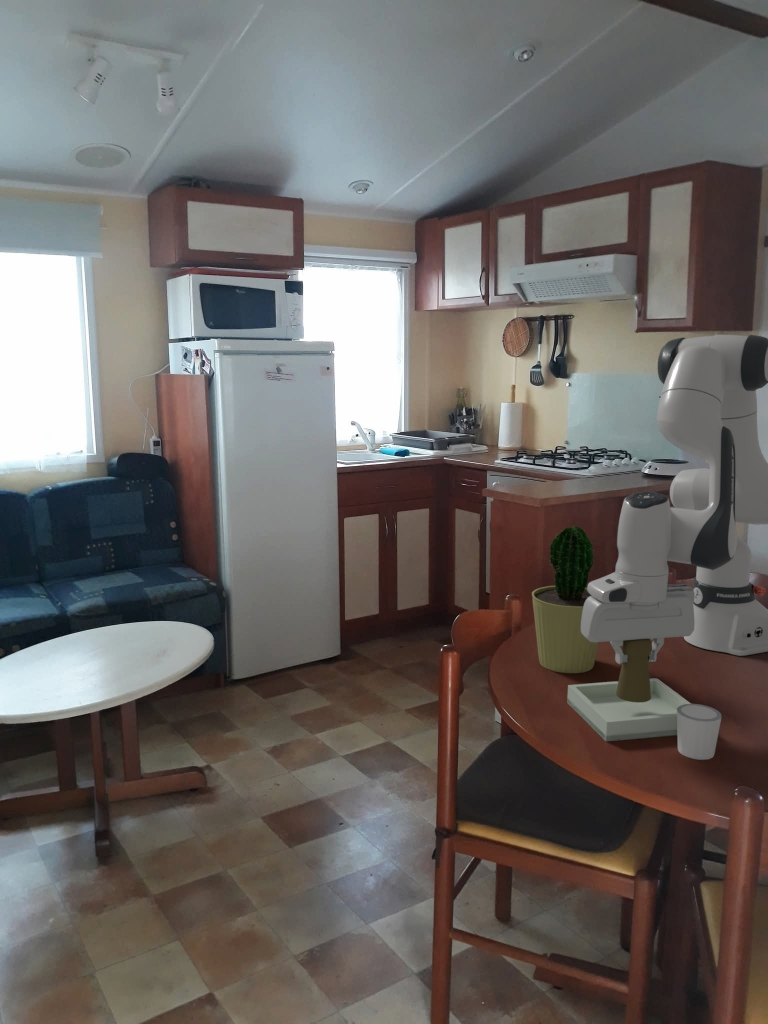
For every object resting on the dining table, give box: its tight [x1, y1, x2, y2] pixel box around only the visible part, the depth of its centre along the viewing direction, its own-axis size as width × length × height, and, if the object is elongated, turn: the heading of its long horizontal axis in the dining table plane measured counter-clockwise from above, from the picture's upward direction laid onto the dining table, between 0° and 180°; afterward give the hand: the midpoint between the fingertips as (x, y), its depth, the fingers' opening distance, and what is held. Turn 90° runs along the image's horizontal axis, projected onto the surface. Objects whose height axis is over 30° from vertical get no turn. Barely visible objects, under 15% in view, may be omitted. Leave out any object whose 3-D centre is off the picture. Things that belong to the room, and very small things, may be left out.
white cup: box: [676, 703, 722, 761], centre depth 136 cm, size 7×7×7 cm
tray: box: [566, 677, 692, 743], centre depth 149 cm, size 18×16×4 cm
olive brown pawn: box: [616, 639, 652, 702], centre depth 148 cm, size 6×6×11 cm
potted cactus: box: [531, 524, 600, 674], centre depth 173 cm, size 15×15×30 cm
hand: (635, 661), depth 148 cm, fingers closed on olive brown pawn, 4 cm apart
